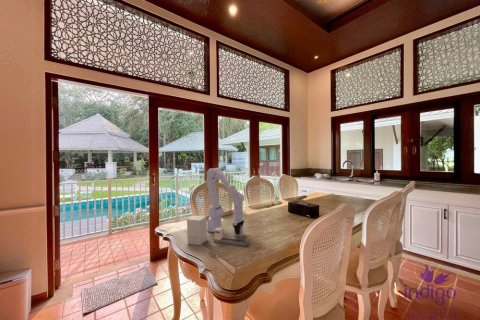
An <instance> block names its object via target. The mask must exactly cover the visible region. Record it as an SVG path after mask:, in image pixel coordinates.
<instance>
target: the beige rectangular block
mask: <svg viewBox="0 0 480 320" xmlns="http://www.w3.org/2000/svg"><path fill="white" fill-rule="evenodd" d="M223 228H224V227H222V228H219V227H217V228H215V229H214V232H213V234H214V237H213V240H214V239H217V240H221V239H222V238H224V229H223Z"/></svg>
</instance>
